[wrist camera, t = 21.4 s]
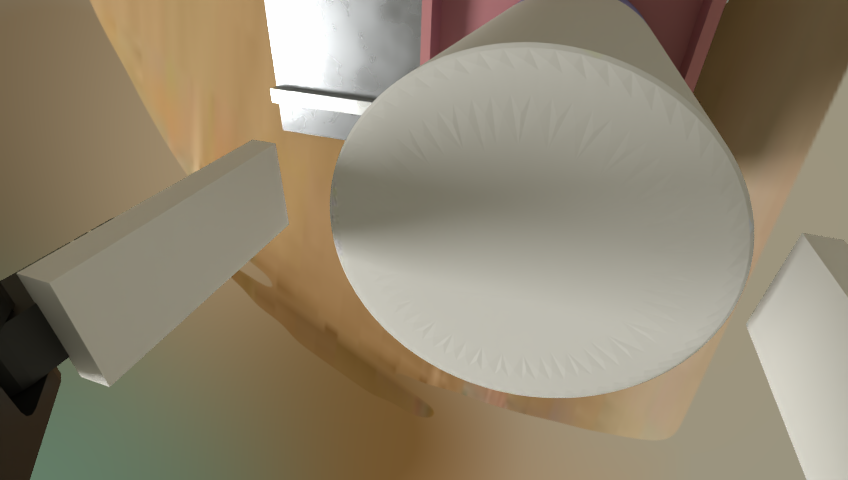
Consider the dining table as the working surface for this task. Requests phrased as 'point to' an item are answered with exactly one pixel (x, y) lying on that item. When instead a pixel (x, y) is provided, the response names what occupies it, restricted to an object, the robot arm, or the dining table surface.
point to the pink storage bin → (657, 3)
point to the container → (545, 206)
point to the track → (339, 58)
